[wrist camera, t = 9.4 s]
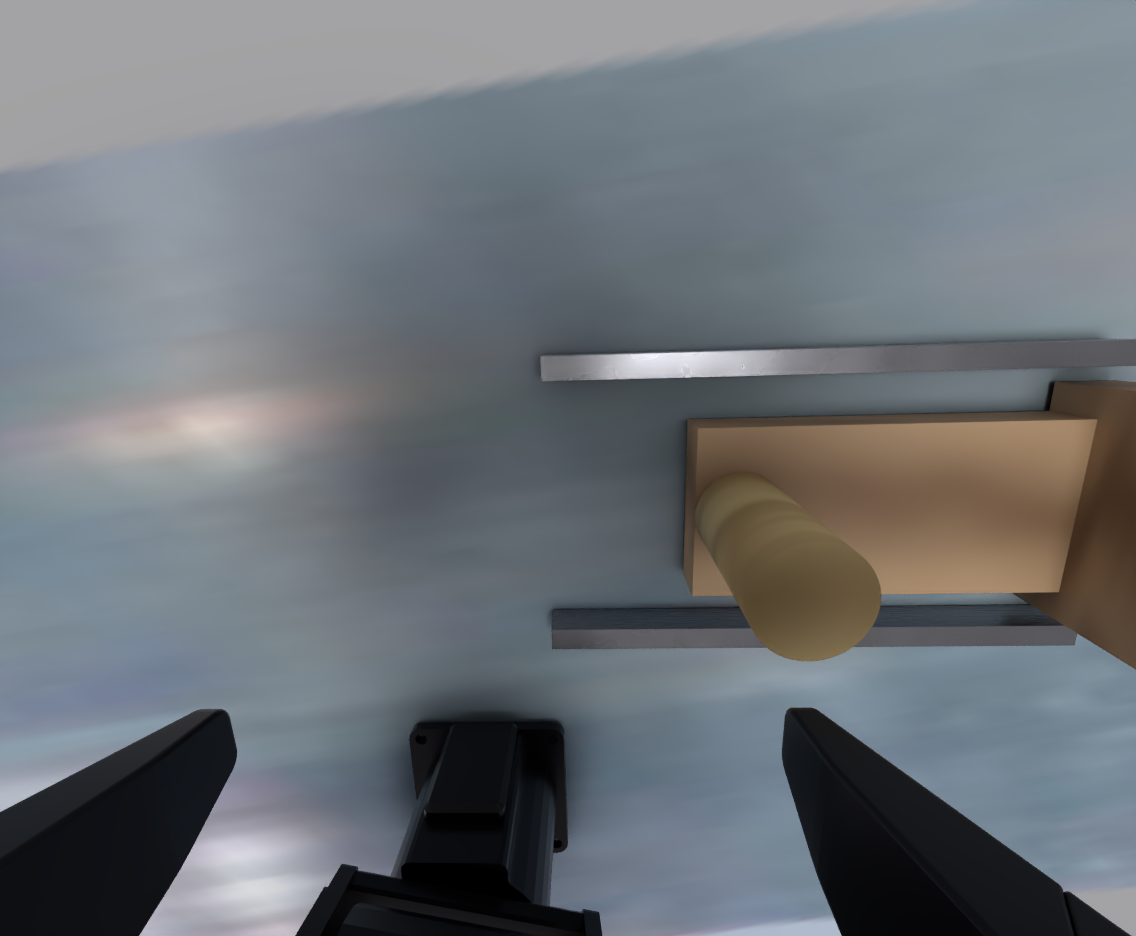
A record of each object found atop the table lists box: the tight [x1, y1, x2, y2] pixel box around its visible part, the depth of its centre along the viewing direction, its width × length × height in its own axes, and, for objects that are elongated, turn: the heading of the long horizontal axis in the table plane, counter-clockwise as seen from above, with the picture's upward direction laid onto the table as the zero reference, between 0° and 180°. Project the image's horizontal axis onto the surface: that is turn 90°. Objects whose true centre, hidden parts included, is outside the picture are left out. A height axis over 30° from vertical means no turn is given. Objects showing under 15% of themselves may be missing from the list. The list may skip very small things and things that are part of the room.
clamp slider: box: [683, 380, 1136, 669], centre depth 16 cm, size 8×14×8 cm, turn 92°
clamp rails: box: [540, 339, 1136, 649], centre depth 19 cm, size 11×19×2 cm, turn 92°
